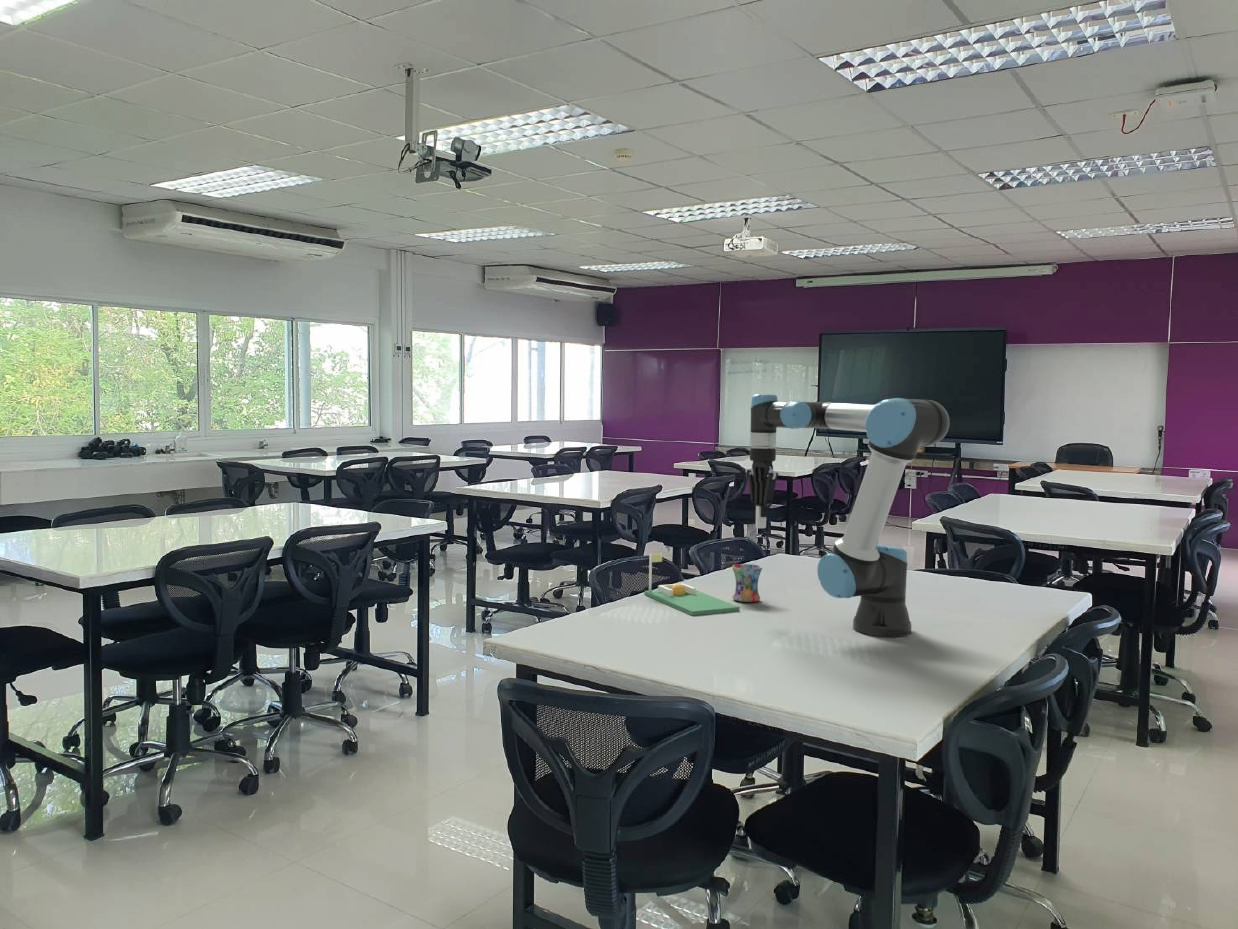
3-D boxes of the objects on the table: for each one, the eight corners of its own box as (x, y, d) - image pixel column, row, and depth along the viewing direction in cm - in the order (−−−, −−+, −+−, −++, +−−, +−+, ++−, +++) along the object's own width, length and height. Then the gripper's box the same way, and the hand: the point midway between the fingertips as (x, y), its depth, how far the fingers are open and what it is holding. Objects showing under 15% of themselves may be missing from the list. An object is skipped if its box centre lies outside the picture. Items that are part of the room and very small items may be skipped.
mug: (754, 605, 261) (755, 570, 261) (726, 601, 266) (727, 567, 266) (769, 598, 272) (770, 564, 271) (742, 594, 276) (743, 561, 276)
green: (739, 611, 253) (740, 566, 253) (691, 615, 247) (693, 569, 246) (688, 591, 280) (689, 550, 280) (644, 594, 274) (645, 553, 273)
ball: (688, 586, 268) (681, 581, 272) (675, 587, 266) (668, 582, 270) (687, 599, 269) (680, 594, 273) (674, 601, 267) (667, 595, 271)
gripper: (786, 448, 248) (784, 530, 249) (760, 446, 260) (758, 524, 261) (765, 448, 245) (762, 531, 246) (739, 446, 256) (737, 525, 258)
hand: (760, 527), depth 254 cm, fingers closed
